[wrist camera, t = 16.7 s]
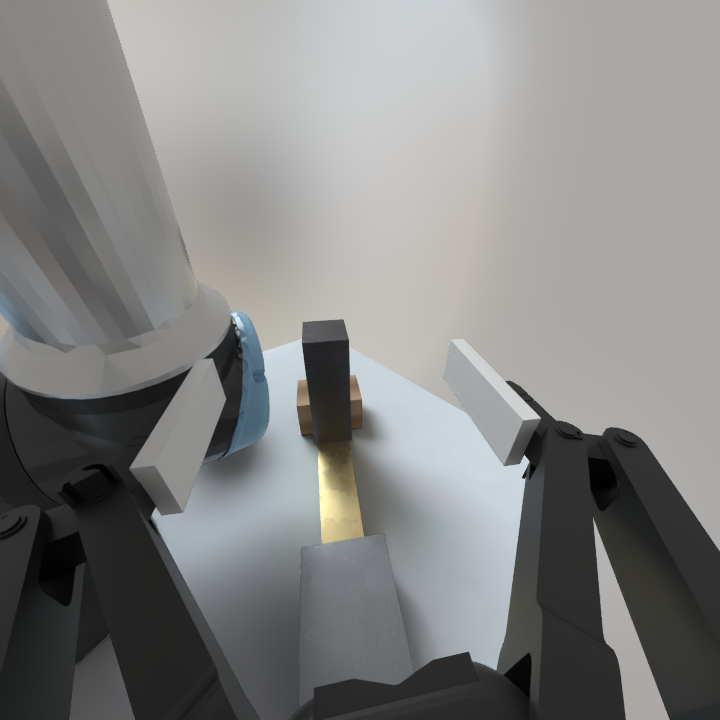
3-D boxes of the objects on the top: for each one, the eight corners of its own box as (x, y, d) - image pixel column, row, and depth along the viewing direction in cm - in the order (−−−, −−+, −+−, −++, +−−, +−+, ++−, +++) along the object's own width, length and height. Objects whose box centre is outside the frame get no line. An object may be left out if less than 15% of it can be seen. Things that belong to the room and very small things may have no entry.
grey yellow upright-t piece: (373, 587, 25) (379, 454, 16) (321, 597, 24) (297, 465, 15) (344, 407, 45) (339, 303, 36) (315, 411, 44) (303, 306, 35)
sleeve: (438, 854, 15) (455, 862, 12) (307, 897, 14) (293, 917, 11) (381, 563, 27) (383, 533, 24) (307, 577, 26) (301, 547, 23)
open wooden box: (361, 427, 42) (361, 399, 39) (301, 434, 41) (296, 406, 38) (356, 402, 47) (355, 375, 44) (302, 407, 46) (297, 380, 43)
